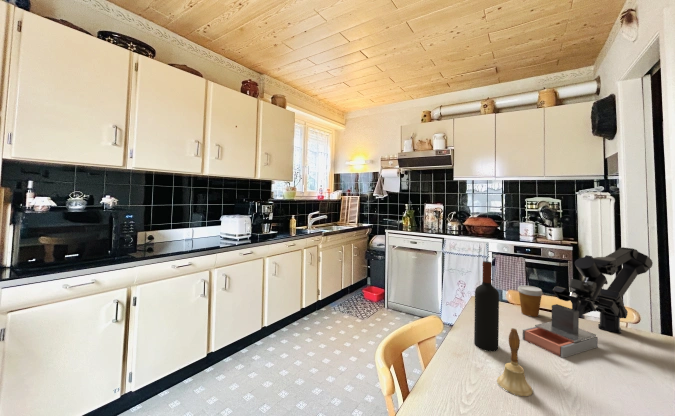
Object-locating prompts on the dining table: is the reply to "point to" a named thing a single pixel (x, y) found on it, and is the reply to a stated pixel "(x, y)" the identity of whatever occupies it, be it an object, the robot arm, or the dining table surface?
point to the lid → (565, 324)
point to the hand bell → (514, 370)
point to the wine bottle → (486, 312)
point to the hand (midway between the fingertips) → (573, 317)
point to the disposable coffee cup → (530, 300)
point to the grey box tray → (557, 342)
